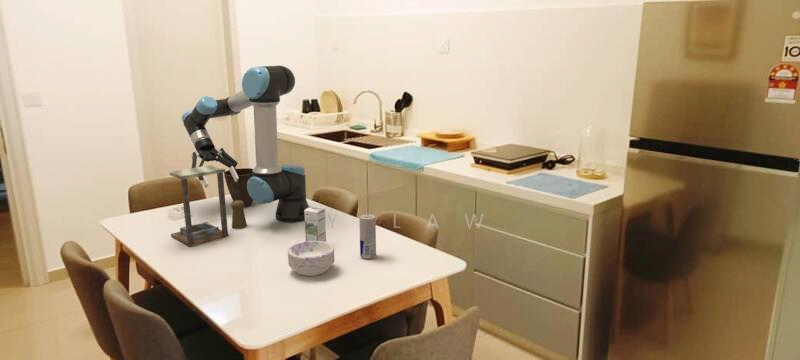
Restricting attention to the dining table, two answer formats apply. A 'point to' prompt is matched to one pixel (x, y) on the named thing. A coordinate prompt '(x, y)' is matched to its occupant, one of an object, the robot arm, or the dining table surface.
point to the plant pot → (239, 185)
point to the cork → (238, 215)
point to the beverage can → (367, 236)
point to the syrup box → (315, 224)
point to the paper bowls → (311, 257)
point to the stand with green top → (190, 233)
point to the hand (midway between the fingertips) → (222, 183)
